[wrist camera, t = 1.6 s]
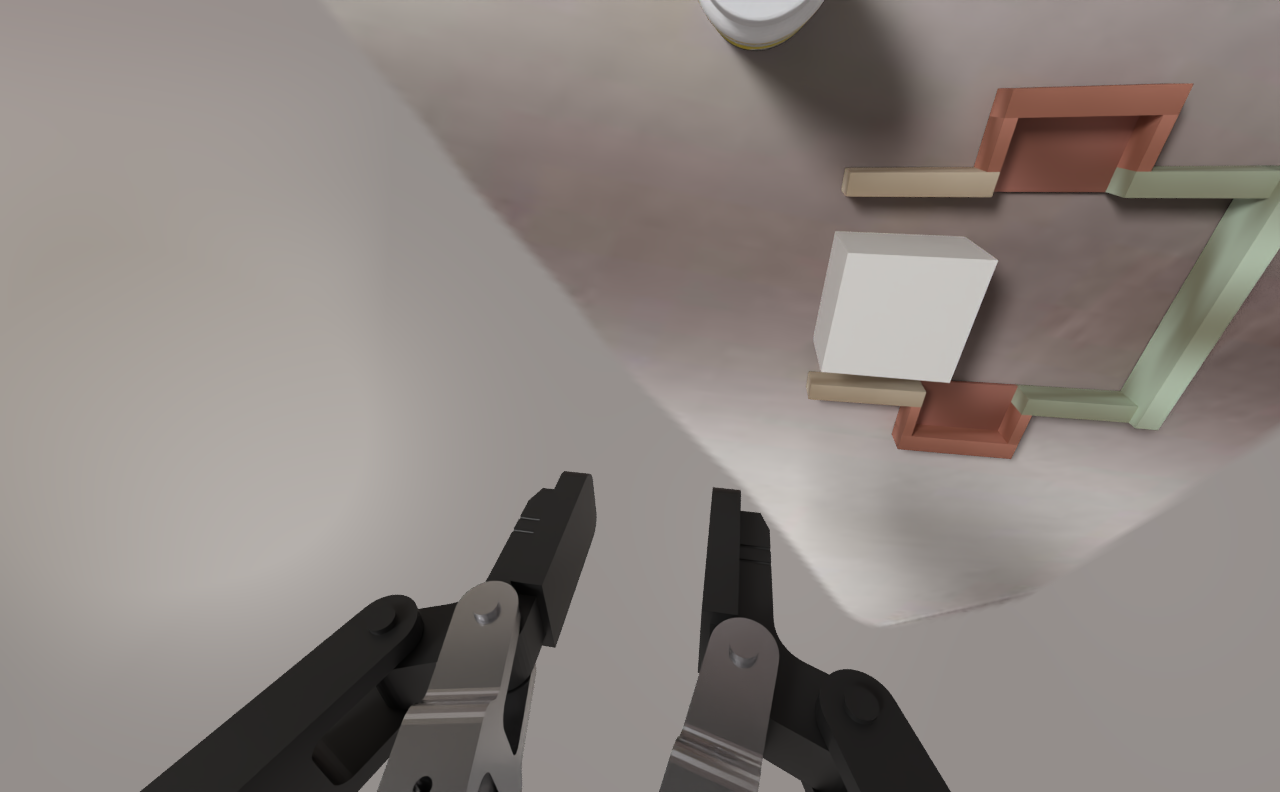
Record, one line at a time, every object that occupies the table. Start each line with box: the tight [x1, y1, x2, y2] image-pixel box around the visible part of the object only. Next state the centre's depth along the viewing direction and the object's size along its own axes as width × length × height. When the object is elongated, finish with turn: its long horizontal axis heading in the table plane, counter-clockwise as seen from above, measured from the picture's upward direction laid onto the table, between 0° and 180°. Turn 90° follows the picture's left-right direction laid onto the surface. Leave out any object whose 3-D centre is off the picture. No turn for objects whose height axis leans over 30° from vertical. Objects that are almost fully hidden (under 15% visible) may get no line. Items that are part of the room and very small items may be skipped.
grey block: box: [813, 231, 998, 383], centre depth 24 cm, size 6×6×4 cm
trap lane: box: [806, 84, 1280, 459], centre depth 24 cm, size 18×17×2 cm
